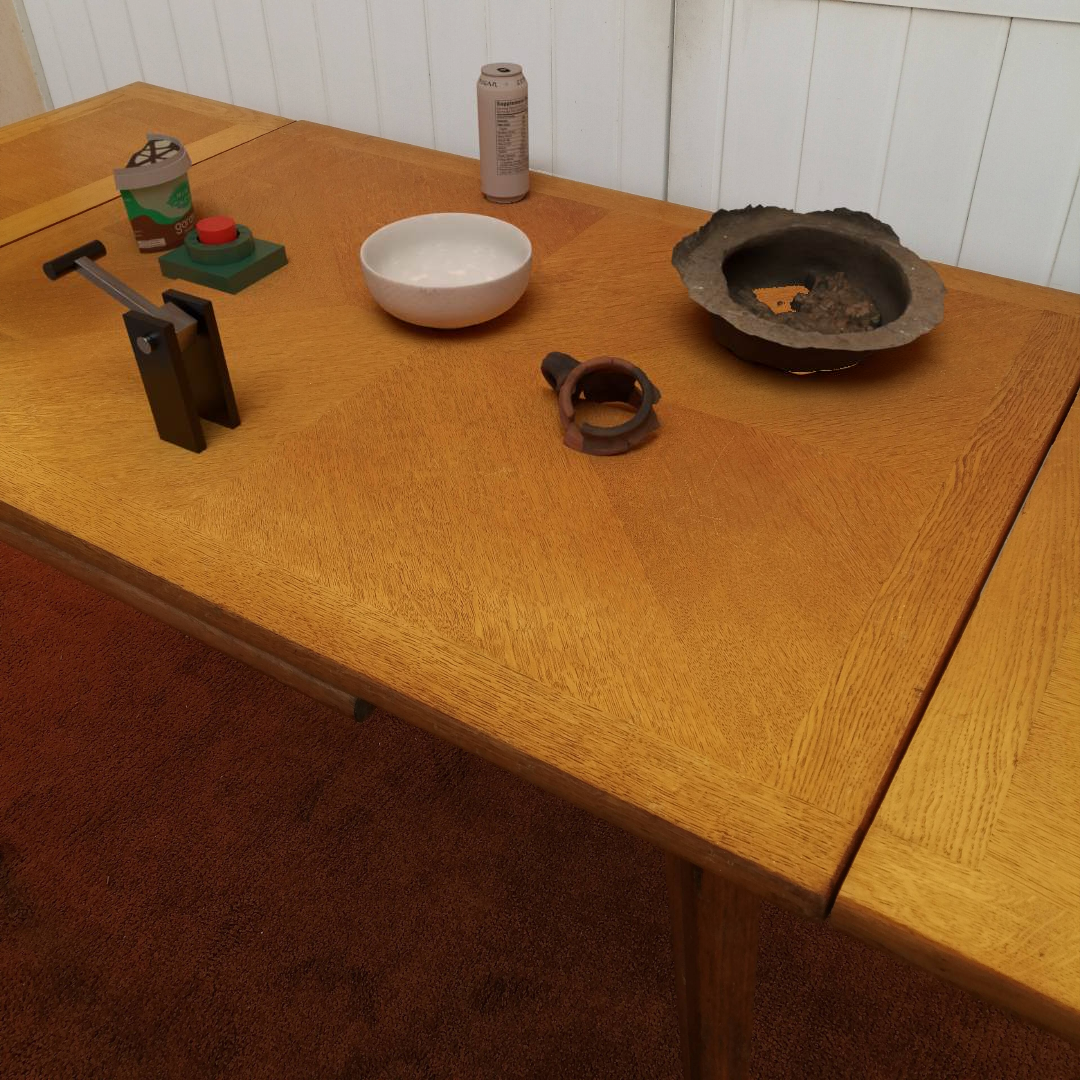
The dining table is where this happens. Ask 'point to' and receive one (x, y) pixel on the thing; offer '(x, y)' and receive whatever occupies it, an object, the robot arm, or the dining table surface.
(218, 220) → the button
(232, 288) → the button box
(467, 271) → the cereal bowl
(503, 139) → the energy drink can
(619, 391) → the pottery mug
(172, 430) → the bracket
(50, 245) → the dining table surface
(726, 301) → the stone bowl
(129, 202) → the food container
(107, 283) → the lever
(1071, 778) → the dining table surface
